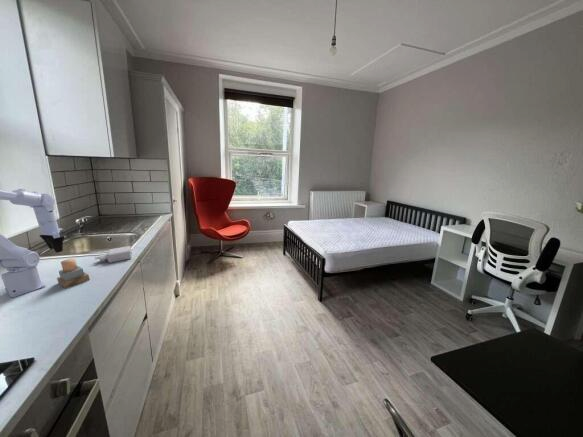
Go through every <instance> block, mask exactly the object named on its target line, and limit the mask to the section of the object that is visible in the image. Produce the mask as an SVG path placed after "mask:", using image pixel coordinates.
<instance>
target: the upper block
mask: <svg viewBox="0 0 583 437" xmlns="http://www.w3.org/2000/svg"><path fill="white" fill-rule="evenodd" d="M84 272H85V271H84V269H83V267H81V266H79V265H77V269H76V270H74V271H71V272H63V269H61V270H58V273H59V277H60V278H62V279H63V280H65V281H68V280H71V279H74V278H77V277H80V276H83V275H84Z"/></svg>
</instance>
